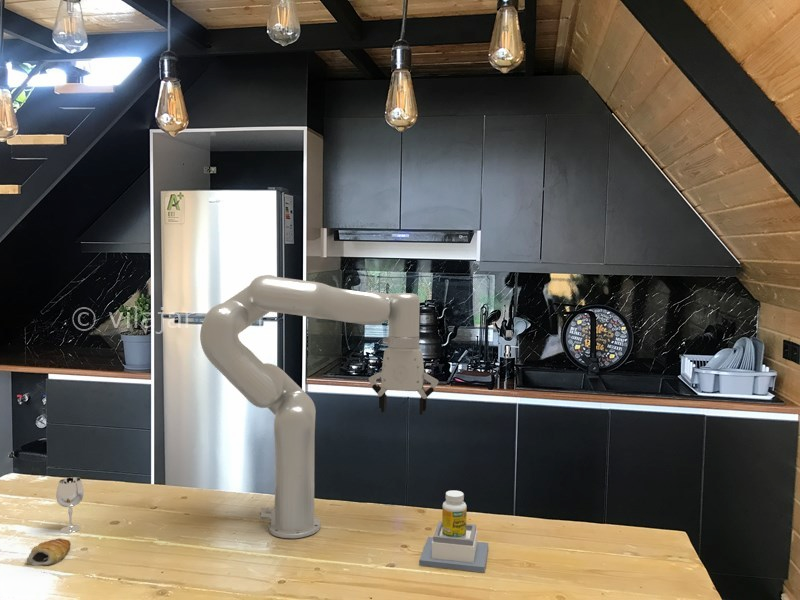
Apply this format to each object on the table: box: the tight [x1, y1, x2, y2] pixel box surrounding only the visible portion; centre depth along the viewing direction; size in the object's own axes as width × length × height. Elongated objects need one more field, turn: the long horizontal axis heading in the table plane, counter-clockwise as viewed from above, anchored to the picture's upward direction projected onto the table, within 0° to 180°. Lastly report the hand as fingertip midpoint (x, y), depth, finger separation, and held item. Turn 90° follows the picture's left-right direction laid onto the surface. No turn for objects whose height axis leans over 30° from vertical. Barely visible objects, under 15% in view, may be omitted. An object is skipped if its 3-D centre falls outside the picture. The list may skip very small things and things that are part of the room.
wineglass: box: [56, 476, 84, 534], centre depth 151 cm, size 6×6×12 cm
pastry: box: [26, 538, 72, 566], centre depth 138 cm, size 9×7×4 cm
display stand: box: [418, 520, 489, 574], centre depth 140 cm, size 14×12×6 cm
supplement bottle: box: [441, 489, 468, 538], centre depth 139 cm, size 5×5×10 cm
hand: (402, 412), depth 155 cm, fingers open, 9 cm apart
